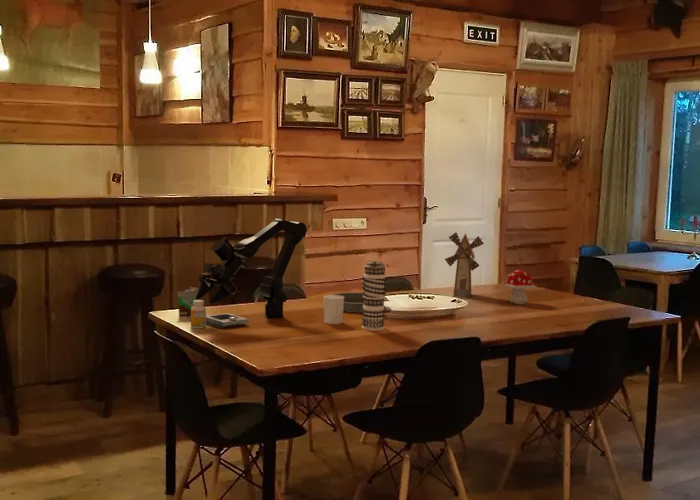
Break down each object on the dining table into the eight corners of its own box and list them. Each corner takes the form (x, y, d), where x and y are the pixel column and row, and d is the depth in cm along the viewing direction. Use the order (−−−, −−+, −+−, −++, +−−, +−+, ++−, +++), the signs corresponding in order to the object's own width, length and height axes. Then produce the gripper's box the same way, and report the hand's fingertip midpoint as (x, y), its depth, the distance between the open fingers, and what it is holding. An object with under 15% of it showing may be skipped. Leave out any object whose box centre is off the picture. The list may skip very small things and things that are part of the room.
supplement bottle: (191, 325, 304) (191, 299, 303) (206, 325, 305) (206, 299, 304) (190, 328, 299) (190, 302, 298) (205, 328, 299) (205, 302, 298)
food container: (192, 318, 317) (192, 292, 316) (177, 317, 318) (177, 291, 317) (204, 312, 329) (204, 287, 328) (190, 311, 330) (190, 286, 329)
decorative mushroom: (501, 299, 377) (503, 267, 376) (532, 301, 376) (534, 268, 374) (502, 305, 364) (504, 271, 362) (535, 306, 362) (537, 272, 360)
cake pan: (316, 306, 350) (316, 295, 350) (359, 300, 366) (359, 290, 366) (353, 315, 332) (354, 304, 331) (398, 309, 348) (398, 299, 347)
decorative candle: (368, 331, 302) (370, 263, 299) (356, 326, 310) (358, 260, 308) (389, 329, 307) (392, 262, 304) (377, 324, 315) (379, 259, 312)
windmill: (442, 296, 380) (445, 232, 376) (444, 292, 393) (446, 229, 389) (481, 299, 377) (484, 233, 374) (481, 294, 390) (484, 231, 386)
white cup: (346, 321, 318) (347, 296, 317) (338, 325, 311) (338, 299, 310) (328, 319, 322) (329, 294, 320) (319, 323, 315) (320, 297, 313)
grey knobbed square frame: (199, 321, 311) (199, 313, 311) (224, 318, 319) (224, 309, 318) (223, 328, 300) (223, 320, 299) (248, 325, 307) (248, 316, 307)
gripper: (202, 251, 311) (176, 283, 304) (230, 257, 297) (203, 290, 291) (220, 271, 317) (194, 302, 311) (248, 277, 303) (222, 310, 297)
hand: (203, 300), depth 302 cm, fingers open, 9 cm apart
